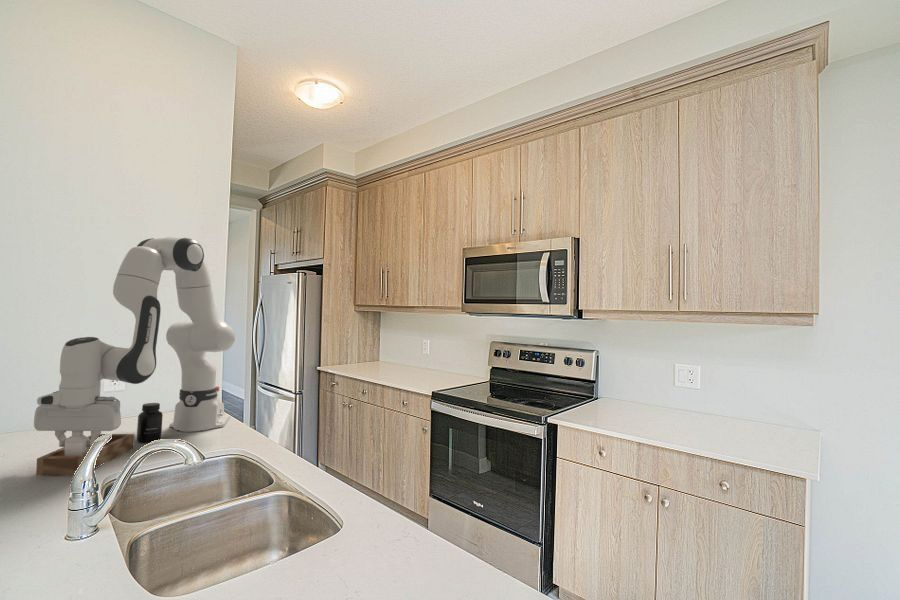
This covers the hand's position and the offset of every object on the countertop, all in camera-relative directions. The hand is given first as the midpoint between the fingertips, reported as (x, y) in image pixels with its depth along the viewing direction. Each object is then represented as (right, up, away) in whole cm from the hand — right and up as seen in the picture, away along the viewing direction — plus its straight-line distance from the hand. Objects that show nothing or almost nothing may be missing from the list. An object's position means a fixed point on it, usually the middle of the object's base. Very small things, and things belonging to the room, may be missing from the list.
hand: (77, 446), depth 121 cm
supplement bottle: (+3, -6, +24) cm, 25 cm away
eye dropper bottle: (0, -6, 0) cm, 6 cm away
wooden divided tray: (-1, -6, +5) cm, 8 cm away
